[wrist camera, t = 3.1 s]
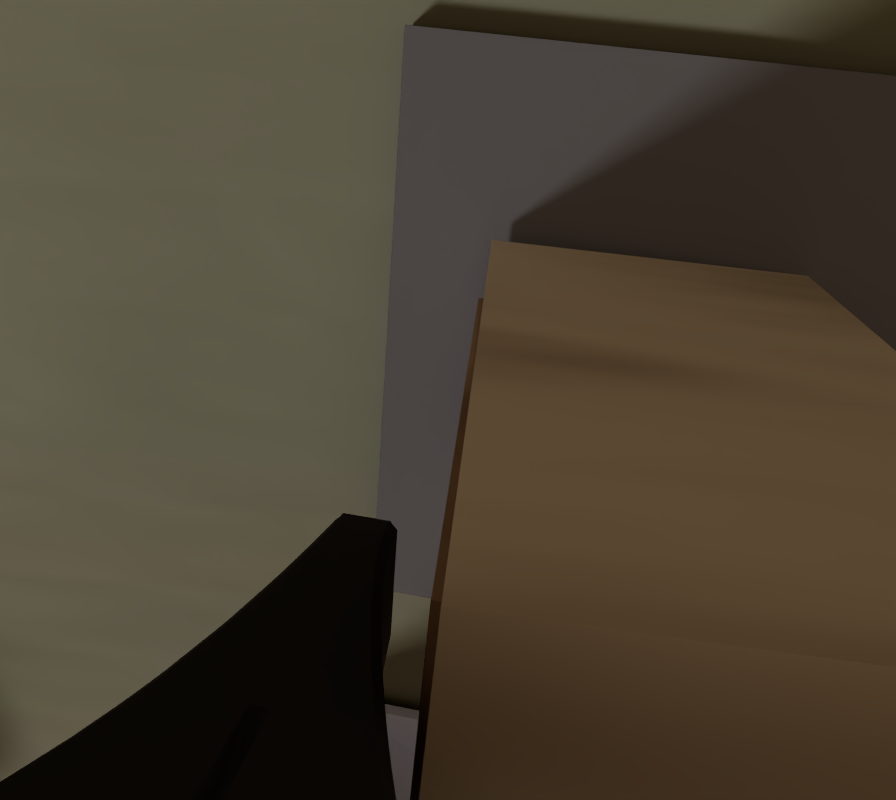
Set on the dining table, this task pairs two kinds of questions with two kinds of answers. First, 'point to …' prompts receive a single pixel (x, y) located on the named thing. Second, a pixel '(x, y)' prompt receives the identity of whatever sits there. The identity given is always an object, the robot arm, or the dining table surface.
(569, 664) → the birch block
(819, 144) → the rubber mat
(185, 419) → the dining table surface
